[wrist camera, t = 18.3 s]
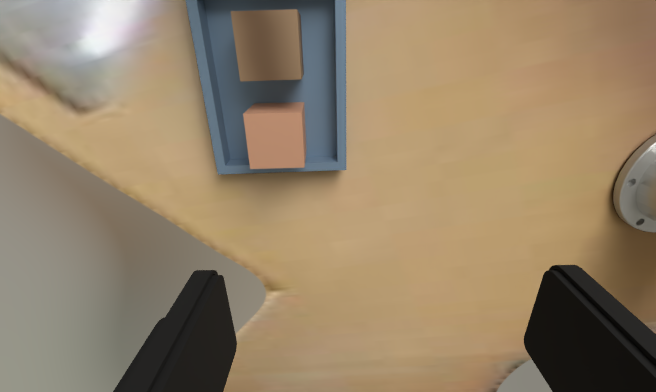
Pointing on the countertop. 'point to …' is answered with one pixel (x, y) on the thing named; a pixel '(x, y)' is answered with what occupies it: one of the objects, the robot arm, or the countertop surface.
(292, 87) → the tray
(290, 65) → the walnut block
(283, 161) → the terracotta block
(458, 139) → the countertop surface
